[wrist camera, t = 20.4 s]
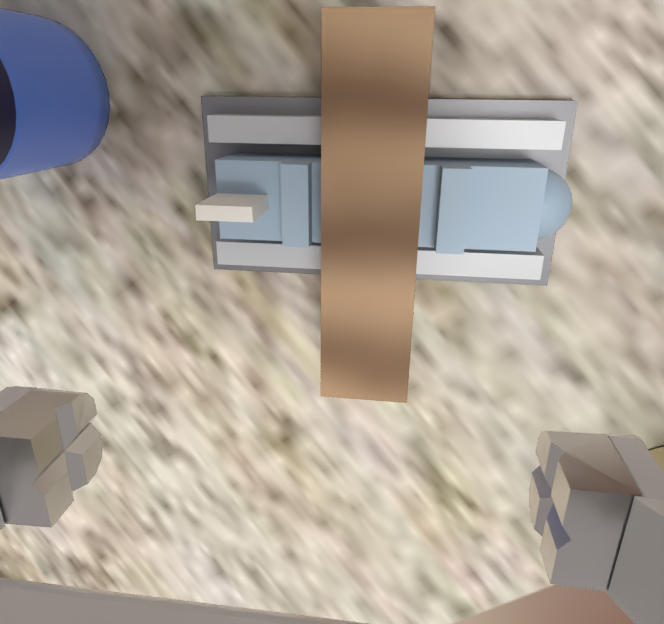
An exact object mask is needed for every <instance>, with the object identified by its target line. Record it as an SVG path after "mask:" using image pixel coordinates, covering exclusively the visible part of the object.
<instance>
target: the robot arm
mask: <svg viewBox="0 0 664 624" xmlns="http://www.w3.org/2000/svg"><path fill="white" fill-rule="evenodd" d="M96 415H97V411H96V407H95V402H94V398H93V397H91V396H90V395H89V394H88V393H81V392H72V391H62V390H52V389H42V388H34V387H19V386H14V387H6V388H5V389H4V390H2V391H1V392H0V529H1V528H3V527H5V524H16V525H28V526H40V527H52V526H53V525H54V524H55V523H56V522H57V520H58V519H59V518H60V517H61V516H62V514H63V513H64V512H65V511H66V509H67V508H68V507H69V506H70V505H71V503H72V502H73V501H74V498H73V491H74V490H76V489H78V488H80V487H82V486H84V485H86V484H88V483H89V481H90V480H91V479H92V478H93V476H94V475H95V474H96V472H97V469H98V467H99V464H100V461H101V458H102V446H103V445H102V439H101V434H100V433H99V431H98V430H97V429H96V428H95V427H94V426H93V425H92V421H93V419H94V418H95V416H96ZM536 453H537V456H538V459H539V462H540V466H539V467H538V468H537V469H535V470H534V471H533V472H532V475H531V481H530V488H529V507H530V514H531V519H532V523H533V527H534V529H535V530H536V531H537V532H538V533H539V534H540V535H541V536H543V538H542V543H541V548H540V551H541V555H542V558H543V561H544V565H545V568H546V571H547V575H548V578H549V582H550V584H557V585H564V586H572V587H578V588H585V589H592V590H600V591H607V592H608V595H609V596H610V598H611V599H612V600H613V601H614V602H615V603H616V604H617V605H618V606H619V607H620V608H621V609H622V610H623V611H624V612H625V613H626V614H627V615H628V617H630V619H631V620H632V621H633V622H634V623H635V624H664V472H663V471H662V469H661V468H660V466H659V465H658V463H657V462H656V460H655V459H654V458H653V456H652V455H651V453H650V452H649V450H648V449H647V447H646V446H645V444H644V443H643V441H642V440H641V439H640V438H638V437H636V436H633V435H611V434H588V433H571V432H553V431H541V433H540V436H539V438H538V442H537V447H536ZM0 624H368V623H360V622H352V621H344V620H336V619H328V618H320V617H313V616H305V615H297V614H289V613H281V612H272V611H264V610H256V609H248V608H240V607H232V606H224V605H216V604H208V603H200V602H192V601H184V600H176V599H167V598H159V597H151V596H143V595H135V594H127V593H119V592H111V591H103V590H95V589H87V588H79V587H71V586H64V585H56V584H48V583H40V582H32V581H24V580H16V579H8V578H0Z"/></svg>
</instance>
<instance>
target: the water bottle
mask: <svg viewBox="0 0 664 624" xmlns="http://www.w3.org/2000/svg"><path fill="white" fill-rule="evenodd" d="M109 111H110V104H109V92H108V88H107V84H106V80H105V77H104V74H103V72H102V70H101V67H100V65H99V63H98V61H97V60H96V58H95V56H94V55H93V53H92V52H91V50H90V49H89V48H88V47H87V45H86V44H85V43H84V42H83V41H82V40H81V38H79V37H78V36H77V35H76V34H75V33H73V32H72V31H71V30H70V29H68V28H67V27H65V26H63V25H61V24H60V23H58V22H56V21H53V20H50V19H47V18H44V17H40V16H35V15H31V14H26V13H21V12H16V11H11V10H6V9H1V8H0V179H4V178H8V177H13V176H18V175H23V174H27V173H32V172H36V171H41V170H46V169H50V168H55V167H60V166H64V165H69V164H72V163H75V162H78V161H80V160H82V159H83V158H85V157H86V156H88V155H89V154H91V152H92V151H93V150H94V149H95V148H96V147H97V146H98V145H99V143H100V141H101V139H102V138H103V136H104V134H105V131H106V128H107V124H108V120H109Z"/></svg>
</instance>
